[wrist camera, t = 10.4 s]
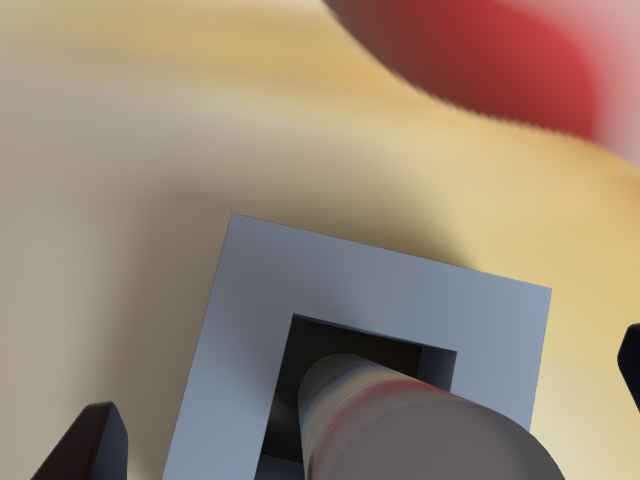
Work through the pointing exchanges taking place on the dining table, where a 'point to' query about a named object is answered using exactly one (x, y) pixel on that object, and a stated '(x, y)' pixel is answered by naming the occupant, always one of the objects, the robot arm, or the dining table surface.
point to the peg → (406, 429)
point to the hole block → (351, 314)
